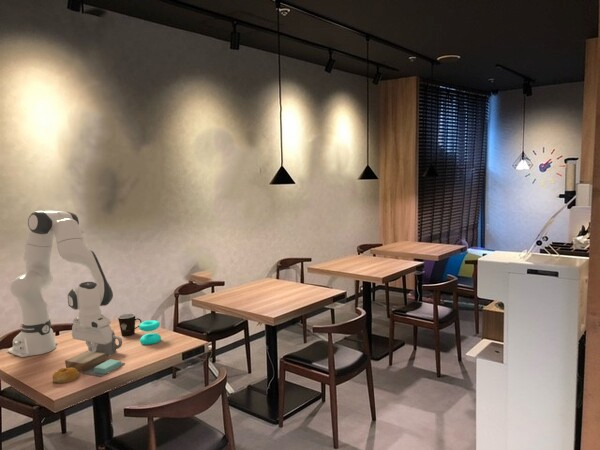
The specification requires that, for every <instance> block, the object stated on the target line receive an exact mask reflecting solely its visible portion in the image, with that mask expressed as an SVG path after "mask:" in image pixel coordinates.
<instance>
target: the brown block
mask: <svg viewBox="0 0 600 450" xmlns="http://www.w3.org/2000/svg"><path fill="white" fill-rule="evenodd" d="M106 361H107V357H106V353H99V352H92V351H88V350H85V351H84V352H80V354H77V355H75V356H72V357H70V358H68V359H66V360H64V363H65V368H70V367H73V368H75V369H77V370H78V372H79V373H83V372H85V371H87V370H89V369H91V368H93V367H95V366H97V365H99V364H102V363H104V362H106Z"/></svg>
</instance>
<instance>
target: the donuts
mask: <svg viewBox="0 0 600 450" xmlns="http://www.w3.org/2000/svg"><path fill="white" fill-rule="evenodd" d="M141 322H142V323H139V325H138V326H139V327H138V328H139V330H140V331H142V332H149V333H146V334H143V335H142V336H141V337H140V339H139V341H140V344H142V345H146V346H149V345H151V346H152V345H155V344H157V343H159V342H161V340H162V337H161V335H160V334H159V333H156V332H152V331H156V330H157V329H159V328H160V326H161V322H160V321H159V320H154V319H153V320H152V319H149V320H144V321H141Z"/></svg>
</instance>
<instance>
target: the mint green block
mask: <svg viewBox="0 0 600 450" xmlns="http://www.w3.org/2000/svg"><path fill="white" fill-rule="evenodd" d="M119 366H120V367H122V366H121V360H119V359H118V360H117V359H107V360H106V362H104V363H102V364H100V365H98V366H96V367H94V372H99V373H104V374H105V373H107V372H109V371H111V370H113V369H115V368H116V369H118V368H120V367H119ZM117 367H118V368H117ZM116 369H115V370H116ZM113 371H114V370H113ZM111 372H112V371H111ZM109 373H110V372H109ZM107 374H108V373H107ZM105 375H106V374H105Z"/></svg>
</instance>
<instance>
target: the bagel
mask: <svg viewBox="0 0 600 450" xmlns="http://www.w3.org/2000/svg"><path fill="white" fill-rule="evenodd" d="M79 373H80V372H78V370H77V369H75V368H73V367H70V368H66V367H64V368H62V367H61V368H60V369H58V370H56V371H54V372H53V374H52V377H51V378H52V379H51V380H52V382H53V383H55V384H56V383H57V384H66V383H70V382H72V381H75V380H76V379H77V378H78V376H79Z"/></svg>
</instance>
